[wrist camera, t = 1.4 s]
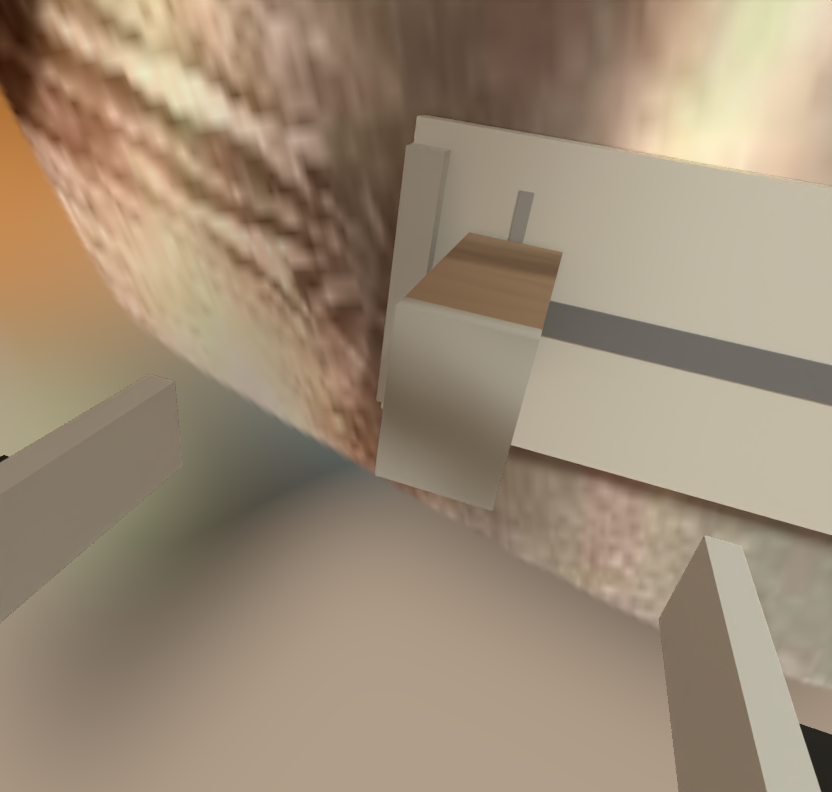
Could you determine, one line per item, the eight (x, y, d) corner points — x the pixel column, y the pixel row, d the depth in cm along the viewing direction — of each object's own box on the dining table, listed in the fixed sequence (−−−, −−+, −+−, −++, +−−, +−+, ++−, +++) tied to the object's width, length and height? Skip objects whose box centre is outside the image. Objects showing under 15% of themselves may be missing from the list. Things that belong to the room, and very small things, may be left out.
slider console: (426, 114, 24) (409, 116, 21) (1300, 268, 18) (1393, 290, 16) (389, 395, 31) (374, 417, 29) (1010, 566, 25) (1047, 609, 23)
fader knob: (469, 232, 24) (395, 305, 15) (562, 252, 23) (539, 340, 15) (446, 357, 27) (374, 475, 18) (528, 378, 26) (492, 511, 18)
